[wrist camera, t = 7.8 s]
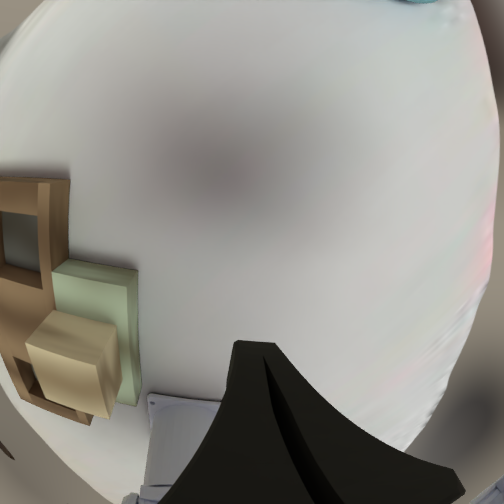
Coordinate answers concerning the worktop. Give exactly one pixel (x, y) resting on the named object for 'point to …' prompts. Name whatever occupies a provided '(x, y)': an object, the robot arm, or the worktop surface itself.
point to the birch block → (77, 362)
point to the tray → (56, 287)
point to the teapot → (422, 1)
